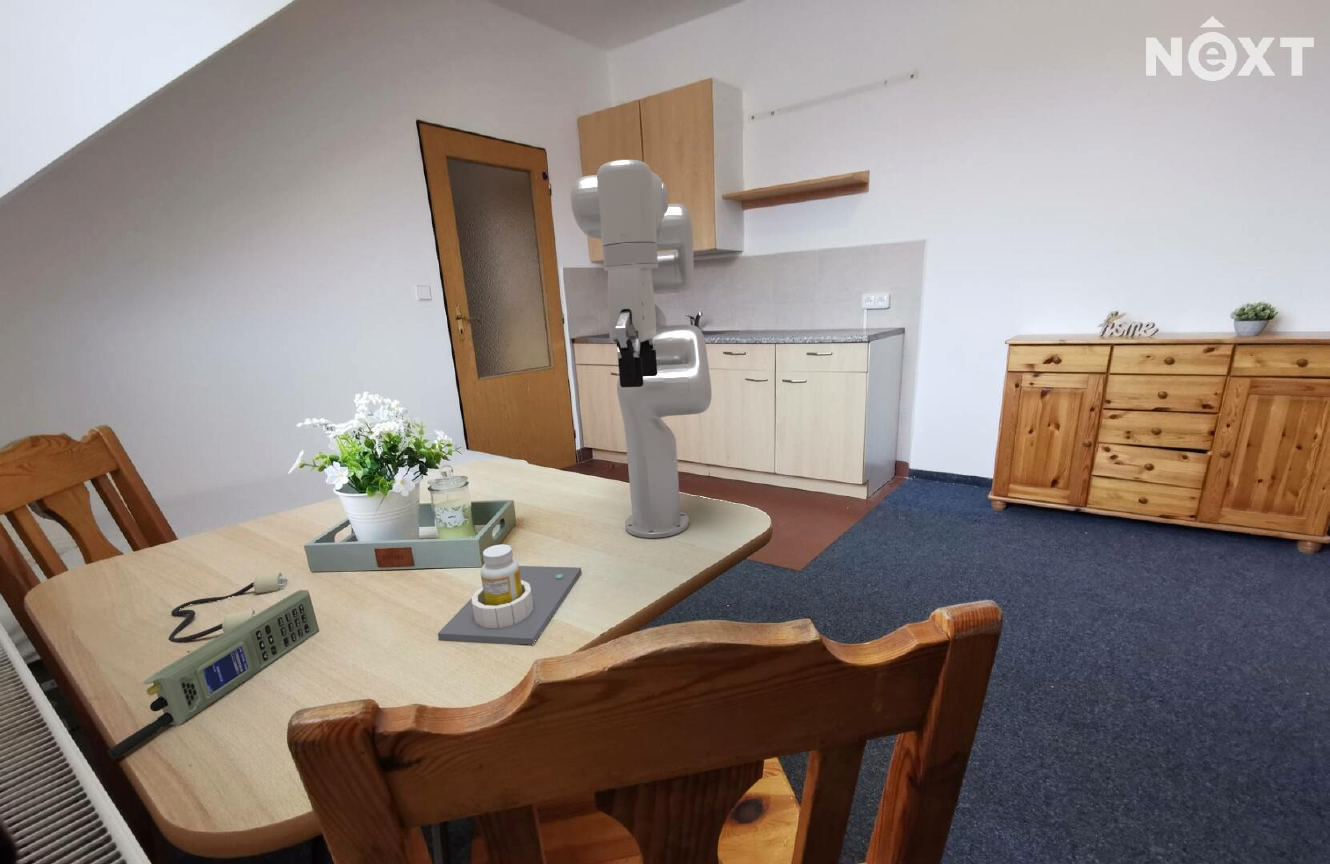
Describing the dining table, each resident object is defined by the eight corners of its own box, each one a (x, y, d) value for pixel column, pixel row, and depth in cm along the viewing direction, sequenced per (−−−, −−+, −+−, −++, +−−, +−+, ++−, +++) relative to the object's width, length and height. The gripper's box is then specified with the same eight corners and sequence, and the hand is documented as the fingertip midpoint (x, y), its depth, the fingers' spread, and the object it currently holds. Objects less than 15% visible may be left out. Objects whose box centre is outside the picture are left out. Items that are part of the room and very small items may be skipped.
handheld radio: (324, 631, 83) (126, 768, 59) (306, 630, 84) (104, 763, 60) (312, 590, 81) (105, 713, 58) (295, 589, 82) (84, 710, 59)
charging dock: (504, 570, 97) (501, 549, 96) (581, 573, 95) (579, 551, 94) (438, 639, 78) (434, 614, 77) (533, 645, 75) (529, 618, 75)
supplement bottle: (501, 625, 79) (491, 562, 77) (479, 613, 82) (469, 553, 80) (532, 607, 83) (524, 547, 81) (510, 597, 86) (501, 539, 84)
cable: (131, 663, 79) (124, 641, 78) (182, 606, 93) (176, 587, 93) (262, 633, 84) (256, 613, 83) (290, 584, 99) (286, 566, 98)
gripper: (620, 263, 87) (629, 373, 91) (585, 258, 71) (598, 392, 75) (668, 260, 86) (674, 371, 90) (643, 253, 70) (653, 390, 74)
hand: (639, 381), depth 83 cm, fingers open, 9 cm apart
